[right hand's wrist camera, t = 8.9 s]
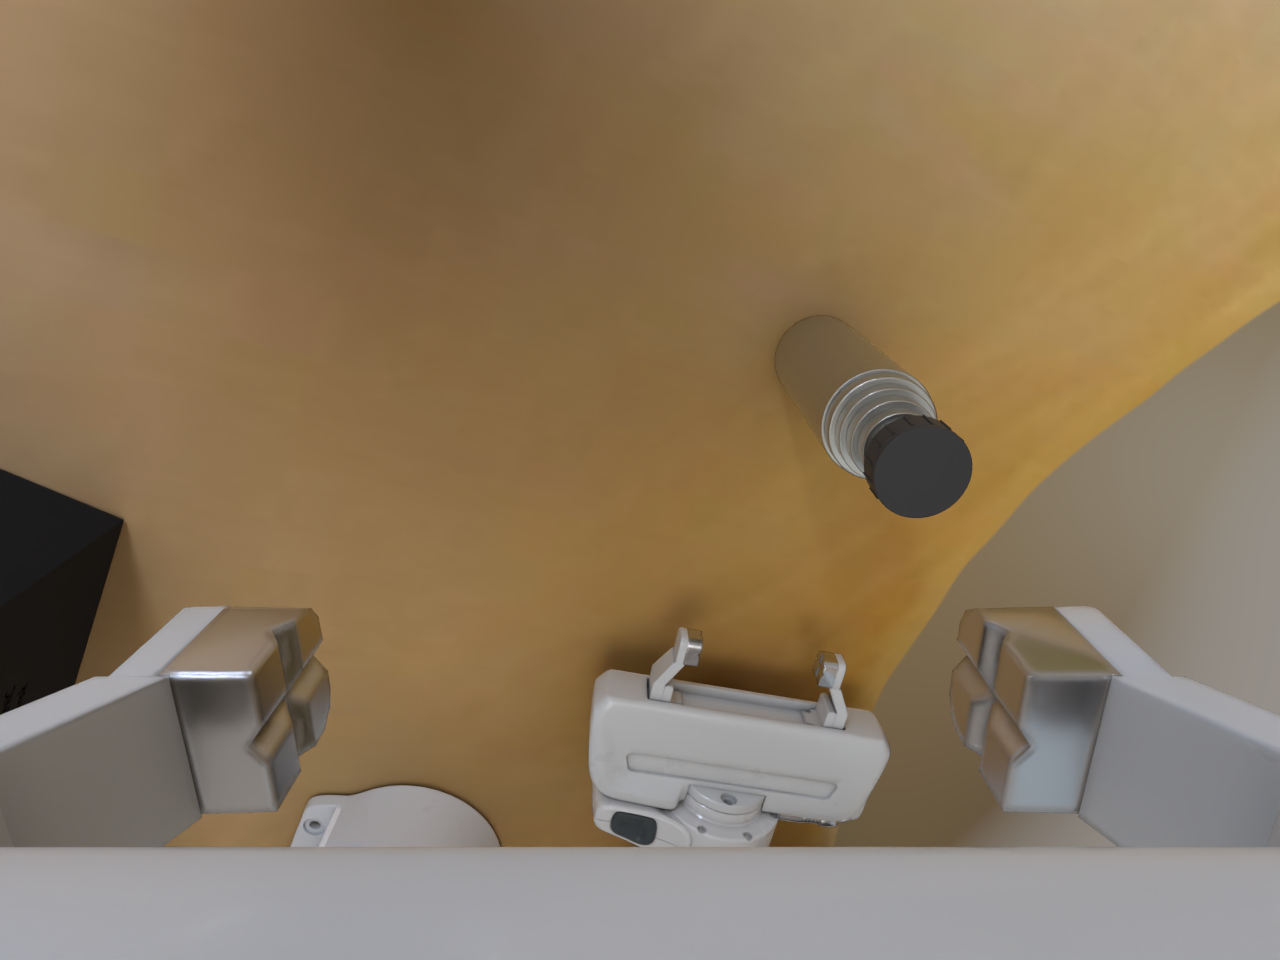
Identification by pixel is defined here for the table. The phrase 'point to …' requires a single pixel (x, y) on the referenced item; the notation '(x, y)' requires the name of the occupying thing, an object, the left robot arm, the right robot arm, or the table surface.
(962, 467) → the cap
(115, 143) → the table surface
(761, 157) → the table surface
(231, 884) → the right robot arm
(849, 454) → the bottle
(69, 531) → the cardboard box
